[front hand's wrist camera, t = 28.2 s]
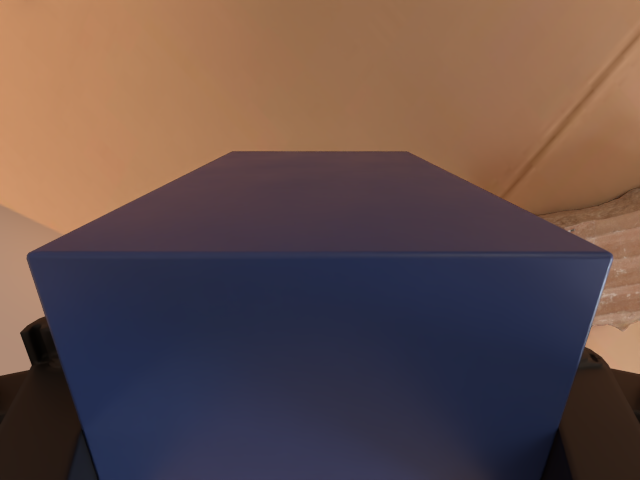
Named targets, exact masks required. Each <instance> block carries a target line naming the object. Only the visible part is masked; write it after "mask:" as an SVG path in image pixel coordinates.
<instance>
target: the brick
mask: <svg viewBox="0 0 640 480" xmlns="http://www.w3.org/2000/svg"><path fill="white" fill-rule="evenodd" d="M27 261H28V264H29V268H30V271H31V274H32V277H33V280H34V283H35V286H36V289H37V292H38V295H39V298H40V301H41V304H42V308H43V311H44V314H45V317H46V320H47V323H48V326H49V329H50V332H51V335H52V338H53V341H54V344H55V347H56V351H57V354H58V357H59V360H60V363H61V366H62V369H63V372H64V375H65V378H66V381H67V384H68V387H69V390H70V394H71V397H72V400H73V403H74V406H75V409H76V412H77V415H78V418H79V421H80V424H81V427H82V430H83V433H84V437H85V440H86V443H87V446H88V449H89V452H90V455H91V458H92V461H93V464H94V467H95V470H96V473H97V476H98V480H541V479H542V476H543V473H544V470H545V467H546V464H547V461H548V457H549V454H550V451H551V448H552V445H553V442H554V439H555V436H556V433H557V430H558V427H559V424H560V421H561V418H562V415H563V412H564V409H565V405H566V402H567V399H568V396H569V393H570V390H571V387H572V384H573V381H574V378H575V375H576V372H577V369H578V366H579V363H580V360H581V357H582V353H583V350H584V347H585V344H586V341H587V338H588V335H589V332H590V329H591V326H592V323H593V320H594V317H595V314H596V311H597V308H598V305H599V301H600V298H601V295H602V292H603V289H604V286H605V283H606V280H607V277H608V274H609V271H610V268H611V265H612V262H613V254H612V253H611V252H609V251H607V250H605V249H603V248H601V247H599V246H597V245H595V244H593V243H591V242H589V241H587V240H585V239H583V238H580V237H578V236H576V235H574V234H572V233H570V232H568V231H566V230H564V229H562V228H560V227H558V226H556V225H554V224H552V223H550V222H548V221H546V220H544V219H542V218H540V217H538V216H536V215H534V214H532V213H530V212H528V211H526V210H524V209H522V208H520V207H518V206H516V205H514V204H512V203H510V202H508V201H506V200H504V199H502V198H500V197H498V196H496V195H494V194H492V193H490V192H488V191H486V190H484V189H482V188H480V187H478V186H476V185H474V184H472V183H470V182H468V181H466V180H464V179H462V178H460V177H457V176H455V175H453V174H451V173H449V172H447V171H445V170H443V169H441V168H439V167H437V166H435V165H433V164H431V163H429V162H427V161H425V160H423V159H421V158H419V157H417V156H415V155H413V154H411V153H409V152H340V151H232V152H230V153H228V154H226V155H224V156H222V157H220V158H218V159H216V160H214V161H212V162H210V163H208V164H206V165H204V166H202V167H200V168H198V169H196V170H194V171H192V172H190V173H188V174H186V175H184V176H182V177H180V178H178V179H176V180H174V181H172V182H170V183H168V184H166V185H164V186H162V187H160V188H158V189H156V190H154V191H152V192H150V193H148V194H146V195H144V196H142V197H140V198H138V199H136V200H134V201H132V202H130V203H128V204H126V205H124V206H122V207H120V208H118V209H116V210H114V211H112V212H110V213H108V214H106V215H104V216H102V217H100V218H98V219H96V220H94V221H92V222H90V223H88V224H86V225H84V226H82V227H80V228H78V229H76V230H74V231H72V232H70V233H68V234H66V235H64V236H62V237H60V238H58V239H56V240H54V241H52V242H50V243H48V244H46V245H44V246H42V247H40V248H37V249H36V250H33V251H31V252H29V253H28V255H27Z"/></svg>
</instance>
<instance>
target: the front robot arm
mask: <svg viewBox="0 0 640 480" xmlns="http://www.w3.org/2000/svg"><path fill="white" fill-rule="evenodd" d="M20 334H21V337H22V340H23V342H24V345H25V348H26V351H27V353H28V356H29V359H30V361H31V364H32V366H31V368H30V370H28V371H22V372H17V373H12V374H7V375H2V376H0V480H98V476H97V473H96V470H95V467H94V464H93V461H92V458H91V455H90V452H89V449H88V446H87V443H86V440H85V437H84V433H83V430H82V427H81V424H80V421H79V418H78V415H77V412H76V409H75V406H74V403H73V400H72V397H71V394H70V390H69V387H68V384H67V381H66V378H65V375H64V372H63V369H62V366H61V363H60V360H59V357H58V354H57V351H56V347H55V344H54V341H53V338H52V335H51V332H50V329H49V326H48V323H47V320H46V317H42V318H40V319H38V320H36V321H34V322H33V323H31V324H29V325H28V326H26V328H24V329H23V330H22V331H21V332H20ZM541 480H640V374H636V373H631V372H626V371H621V370H616V369H611V368H610V367H609V365H608V364H607V363H606V362H605V361H604V359H603V358H602V357H601V356H599V355H598V354H596V353H595V352H594V351H592V350H591V349H588V348H586V347H584V350H583V353H582V357H581V360H580V363H579V366H578V369H577V372H576V375H575V378H574V381H573V384H572V387H571V390H570V393H569V396H568V399H567V402H566V405H565V409H564V412H563V415H562V418H561V421H560V424H559V427H558V430H557V433H556V436H555V439H554V442H553V445H552V448H551V451H550V454H549V457H548V461H547V464H546V467H545V470H544V473H543V476H542V479H541Z"/></svg>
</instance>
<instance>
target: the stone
mask: <svg viewBox="0 0 640 480" xmlns="http://www.w3.org/2000/svg"><path fill="white" fill-rule="evenodd" d="M538 217H540V218H542V219H544V220H546V221H548V222H550V223H552V224H554V225H556V226H558V227H560V228H562V229H564V230H566V231H568V232H570V233H572V234H574V235H576V236H578V237H580V238H583V239H585V240H587V241H589V242H591V243H593V244H595V245H597V246H599V247H601V248H603V249H605V250H607V251H609V252H611V253H612V254H613V262H612V265H611V268H610V271H609V274H608V277H607V280H606V283H605V286H604V289H603V292H602V295H601V298H600V301H599V305H598V308H597V311H596V314H595V317H594V320H593V323H592V326H593V325H597V326H600V325H611V326H614V327H616V328H618V329H620V330H621V331H624V330H626V329H627V328H628V326H630V325H631V324H633V323H636V322H638V321H640V188H637V189H632V190H630V191H629V192H627V193H626V194H624V195H623V196H622V197H620V198H619V199H615V200H612V201H610V202H608V203H604V204H601V205H599V206H593V207H590V208H584V209H580V210H568V211H561V212H556V213H551V214H545V215H539V216H538Z"/></svg>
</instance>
